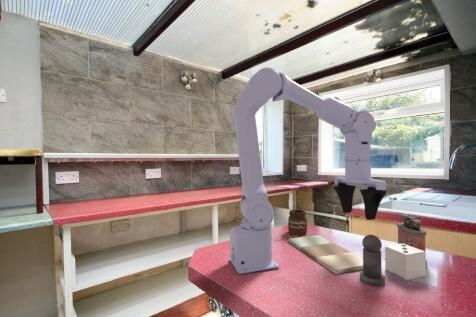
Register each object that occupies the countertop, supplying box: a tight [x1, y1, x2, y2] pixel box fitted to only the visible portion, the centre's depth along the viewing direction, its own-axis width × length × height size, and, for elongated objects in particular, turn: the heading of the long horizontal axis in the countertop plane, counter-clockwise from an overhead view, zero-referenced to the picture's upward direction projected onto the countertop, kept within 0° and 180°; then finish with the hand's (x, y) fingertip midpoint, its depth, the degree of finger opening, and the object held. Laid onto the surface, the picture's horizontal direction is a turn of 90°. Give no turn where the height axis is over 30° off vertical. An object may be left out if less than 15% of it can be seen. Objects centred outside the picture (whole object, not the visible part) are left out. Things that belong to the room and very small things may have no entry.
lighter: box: [396, 213, 427, 266], centre depth 59 cm, size 8×3×10 cm, turn 179°
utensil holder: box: [287, 195, 309, 236], centre depth 80 cm, size 6×6×12 cm
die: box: [384, 243, 427, 281], centre depth 52 cm, size 5×5×5 cm
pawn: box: [359, 234, 386, 287], centre depth 49 cm, size 4×4×9 cm
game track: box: [287, 234, 363, 275], centre depth 64 cm, size 10×21×1 cm, turn 16°
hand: (358, 215), depth 62 cm, fingers open, 7 cm apart
